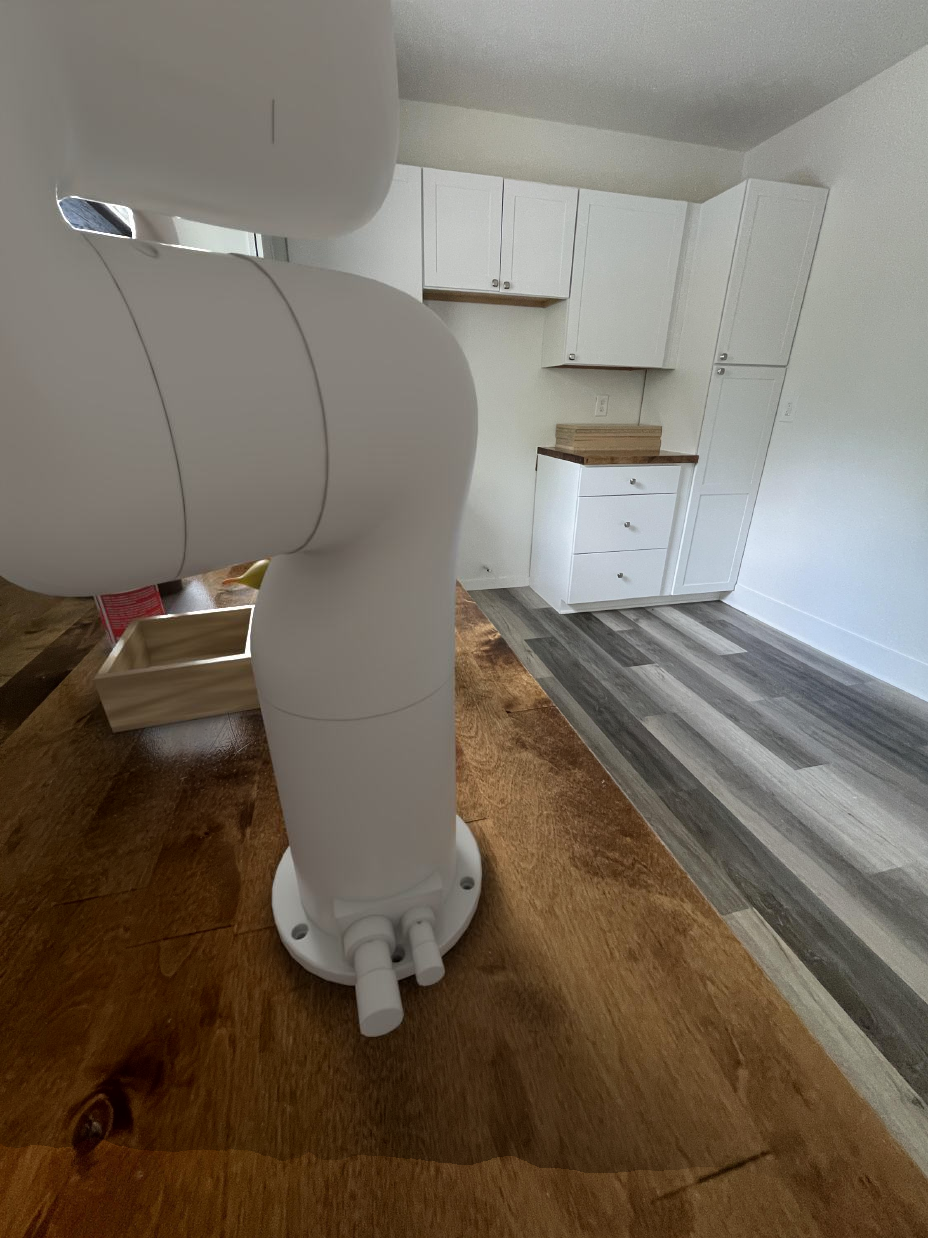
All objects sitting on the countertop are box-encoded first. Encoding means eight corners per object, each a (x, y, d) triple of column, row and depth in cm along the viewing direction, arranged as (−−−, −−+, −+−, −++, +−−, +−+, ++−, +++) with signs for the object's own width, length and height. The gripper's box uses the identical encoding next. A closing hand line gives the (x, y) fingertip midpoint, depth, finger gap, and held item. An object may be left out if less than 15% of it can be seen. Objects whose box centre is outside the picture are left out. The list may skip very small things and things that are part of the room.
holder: (263, 707, 48) (253, 656, 45) (113, 733, 44) (92, 679, 42) (268, 647, 59) (259, 603, 56) (147, 664, 55) (132, 618, 53)
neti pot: (223, 611, 68) (213, 566, 65) (325, 584, 77) (319, 543, 74) (235, 622, 65) (224, 574, 62) (338, 592, 74) (333, 550, 71)
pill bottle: (183, 637, 61) (159, 550, 56) (136, 660, 56) (105, 566, 51) (148, 628, 63) (122, 543, 59) (99, 650, 58) (67, 559, 54)
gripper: (-60, 424, 44) (15, 604, 51) (163, 421, 48) (202, 586, 56) (-15, 418, 50) (46, 578, 57) (177, 416, 55) (210, 564, 62)
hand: (122, 582), depth 57 cm, fingers open, 9 cm apart
